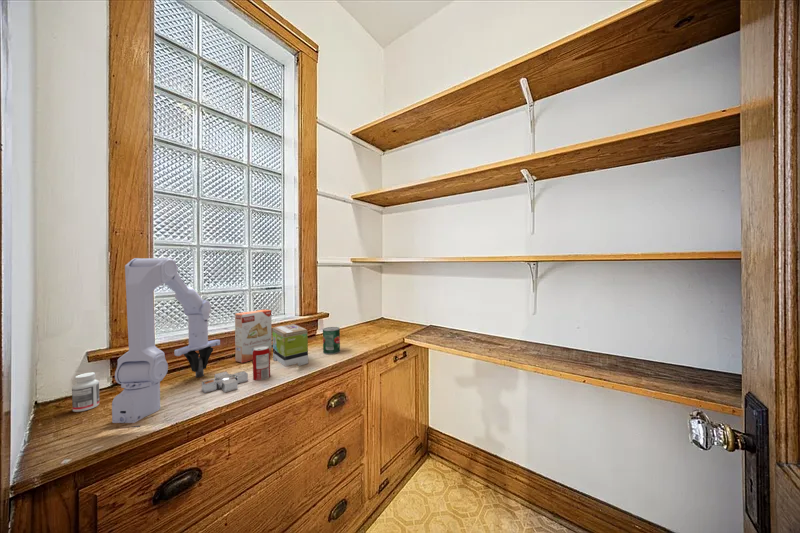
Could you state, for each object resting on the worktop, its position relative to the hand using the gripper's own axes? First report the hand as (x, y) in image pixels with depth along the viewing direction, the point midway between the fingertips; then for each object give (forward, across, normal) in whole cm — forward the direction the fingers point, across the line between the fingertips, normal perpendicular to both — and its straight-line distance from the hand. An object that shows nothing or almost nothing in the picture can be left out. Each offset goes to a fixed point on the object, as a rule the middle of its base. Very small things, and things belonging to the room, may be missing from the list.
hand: (199, 369), depth 103 cm
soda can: (+4, +8, -22) cm, 24 cm away
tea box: (+4, +27, -17) cm, 32 cm away
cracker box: (+4, +25, +3) cm, 25 cm away
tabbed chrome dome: (+2, -2, -17) cm, 17 cm away
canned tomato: (+4, +45, -24) cm, 51 cm away
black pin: (+4, 0, 0) cm, 4 cm away
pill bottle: (+4, -26, +10) cm, 28 cm away
